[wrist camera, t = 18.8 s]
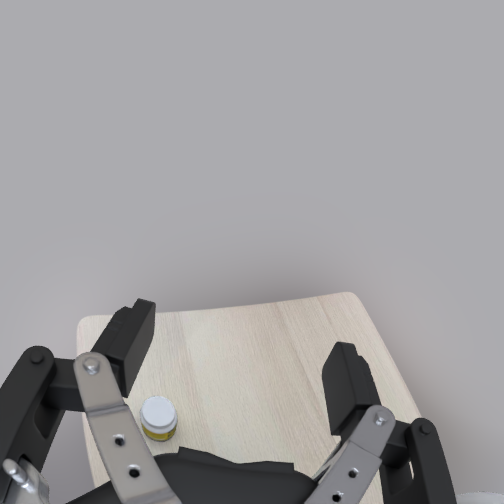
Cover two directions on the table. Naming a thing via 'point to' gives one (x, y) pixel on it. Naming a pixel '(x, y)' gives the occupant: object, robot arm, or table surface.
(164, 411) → the supplement bottle
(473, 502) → the soap bottle
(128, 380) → the robot arm
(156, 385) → the table surface
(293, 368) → the table surface
